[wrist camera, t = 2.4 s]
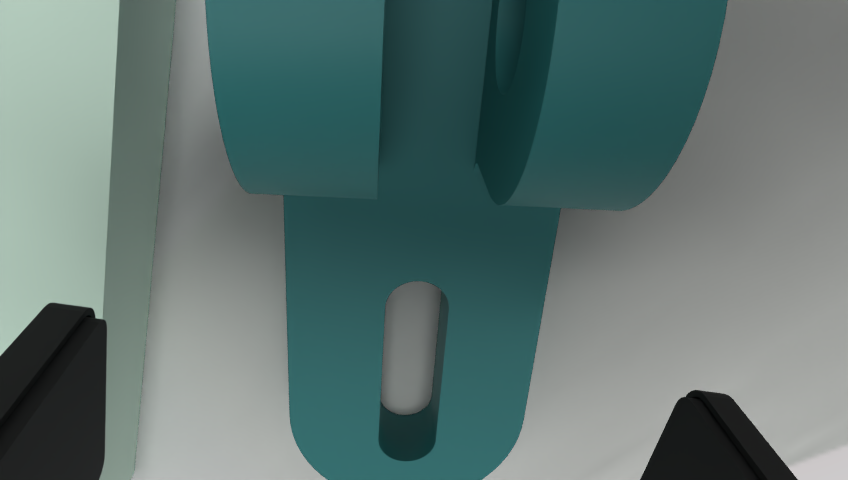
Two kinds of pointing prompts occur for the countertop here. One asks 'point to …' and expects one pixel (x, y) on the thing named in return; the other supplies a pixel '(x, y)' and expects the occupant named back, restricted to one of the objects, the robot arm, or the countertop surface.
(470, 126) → the bracket
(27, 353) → the robot arm
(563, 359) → the countertop surface
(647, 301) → the countertop surface
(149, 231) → the base plate
